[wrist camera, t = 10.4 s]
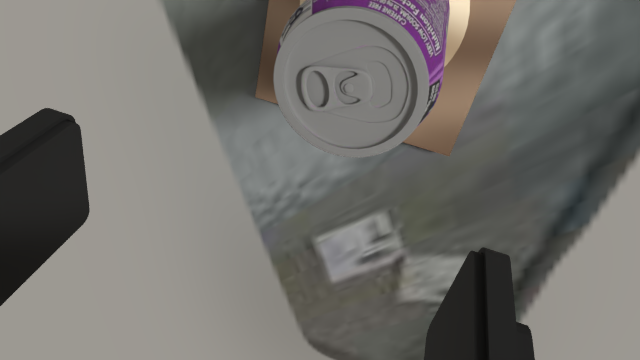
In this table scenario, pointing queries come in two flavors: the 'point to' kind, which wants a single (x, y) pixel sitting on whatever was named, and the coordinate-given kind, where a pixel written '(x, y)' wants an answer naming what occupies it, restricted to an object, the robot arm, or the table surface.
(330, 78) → the beverage can
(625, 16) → the table surface
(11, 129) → the robot arm
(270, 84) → the board
